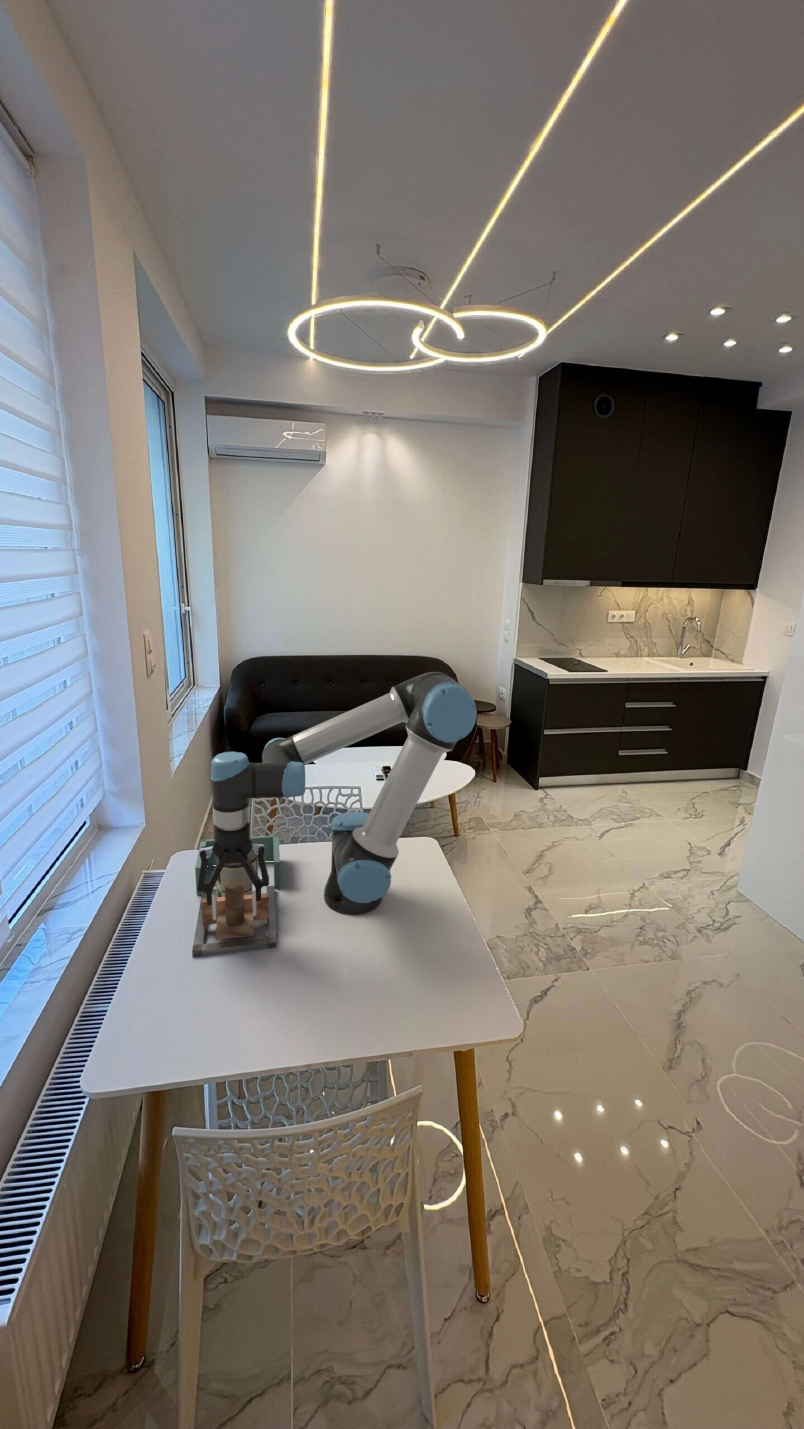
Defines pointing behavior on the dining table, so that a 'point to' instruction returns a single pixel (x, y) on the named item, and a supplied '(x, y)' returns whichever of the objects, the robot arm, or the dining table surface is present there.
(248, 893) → the coffee can
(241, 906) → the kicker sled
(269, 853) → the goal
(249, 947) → the track
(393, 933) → the dining table surface
